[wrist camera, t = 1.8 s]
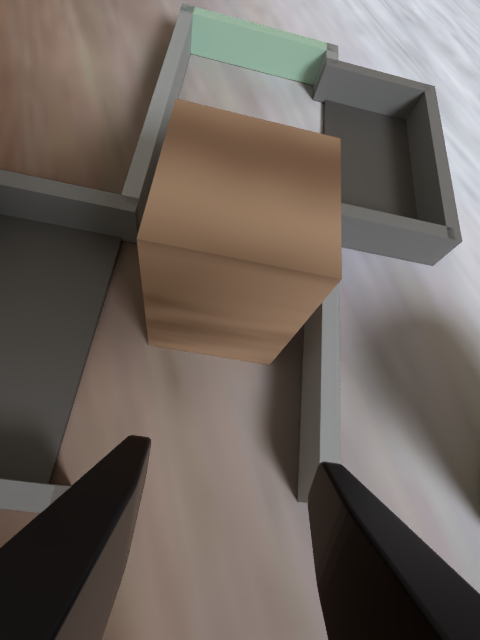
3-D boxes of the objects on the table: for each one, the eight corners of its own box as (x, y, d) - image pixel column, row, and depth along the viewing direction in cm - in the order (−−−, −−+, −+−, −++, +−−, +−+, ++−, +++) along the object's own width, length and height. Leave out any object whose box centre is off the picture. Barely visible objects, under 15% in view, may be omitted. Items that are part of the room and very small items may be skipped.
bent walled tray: (471, 554, 20) (519, 564, 17) (-164, 484, 16) (-231, 483, 13) (411, 103, 35) (432, 71, 32) (79, 17, 31) (71, -28, 29)
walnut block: (269, 365, 22) (341, 279, 13) (148, 345, 21) (136, 238, 12) (283, 185, 28) (339, 42, 19) (189, 165, 27) (201, 4, 18)
